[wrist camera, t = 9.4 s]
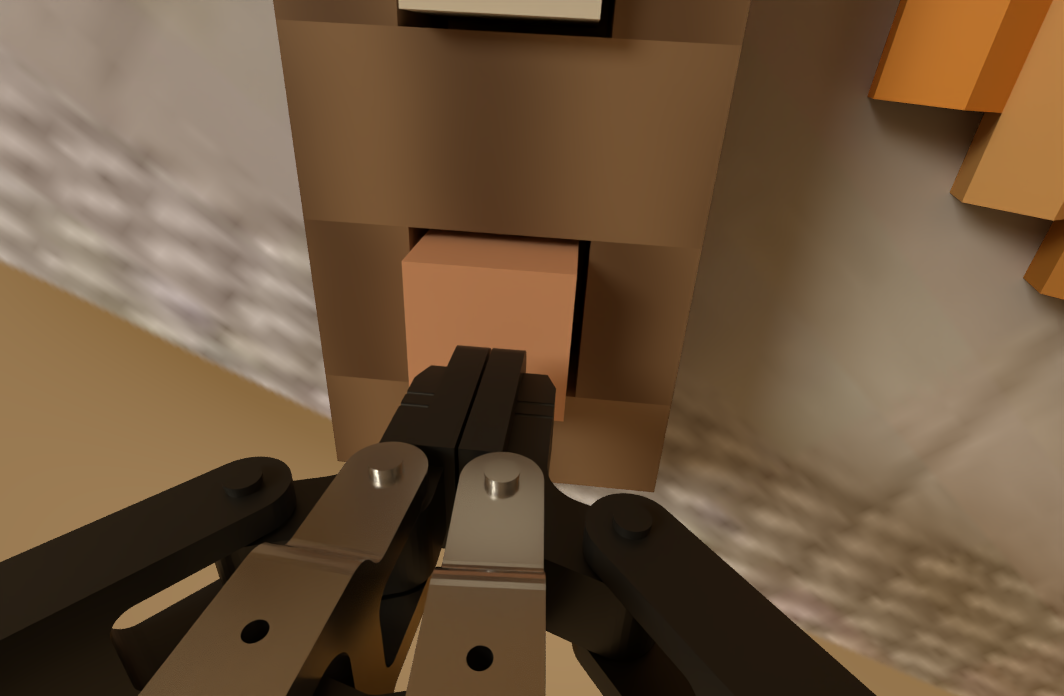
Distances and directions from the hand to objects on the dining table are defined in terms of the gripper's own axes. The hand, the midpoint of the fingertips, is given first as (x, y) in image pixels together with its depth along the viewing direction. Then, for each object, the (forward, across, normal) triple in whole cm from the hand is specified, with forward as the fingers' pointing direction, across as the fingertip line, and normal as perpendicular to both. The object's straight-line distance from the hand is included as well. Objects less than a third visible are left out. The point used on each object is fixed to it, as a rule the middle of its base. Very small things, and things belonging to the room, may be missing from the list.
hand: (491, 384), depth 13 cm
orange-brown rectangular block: (+7, 0, 0) cm, 7 cm away
